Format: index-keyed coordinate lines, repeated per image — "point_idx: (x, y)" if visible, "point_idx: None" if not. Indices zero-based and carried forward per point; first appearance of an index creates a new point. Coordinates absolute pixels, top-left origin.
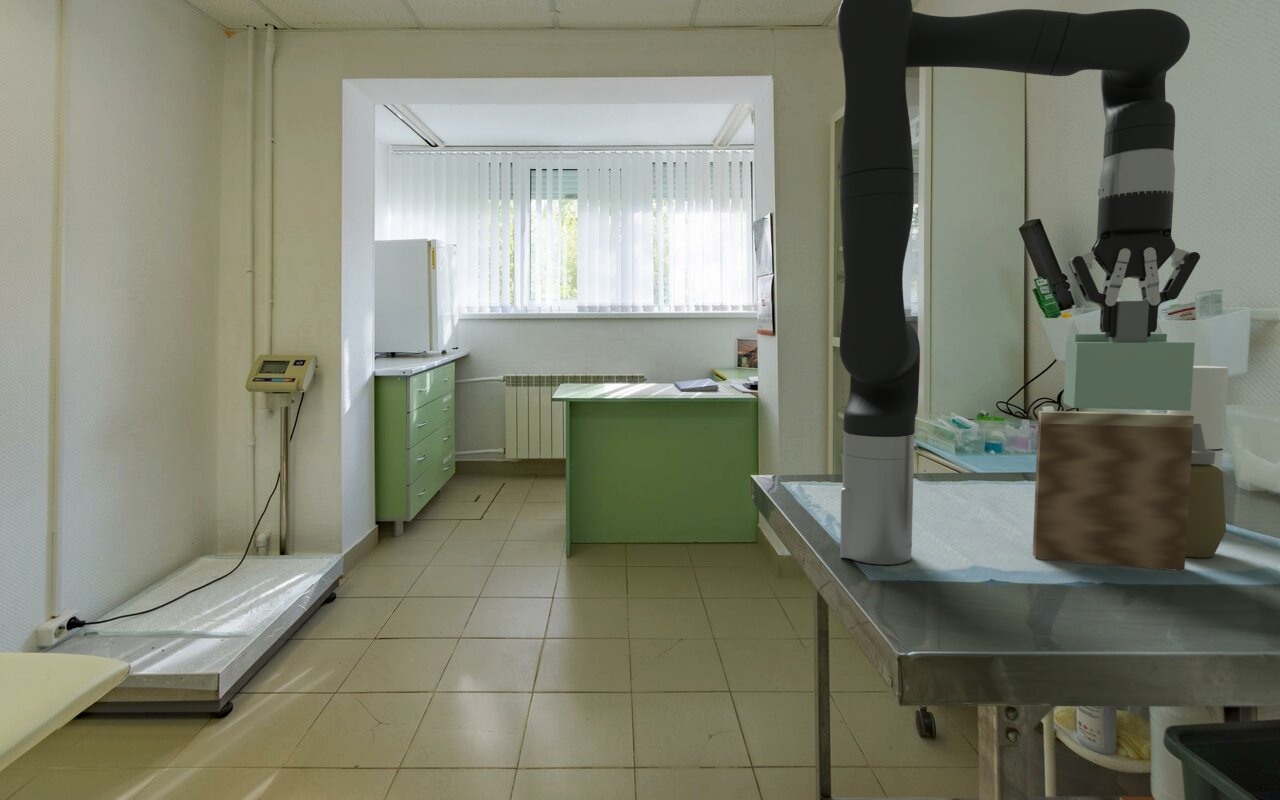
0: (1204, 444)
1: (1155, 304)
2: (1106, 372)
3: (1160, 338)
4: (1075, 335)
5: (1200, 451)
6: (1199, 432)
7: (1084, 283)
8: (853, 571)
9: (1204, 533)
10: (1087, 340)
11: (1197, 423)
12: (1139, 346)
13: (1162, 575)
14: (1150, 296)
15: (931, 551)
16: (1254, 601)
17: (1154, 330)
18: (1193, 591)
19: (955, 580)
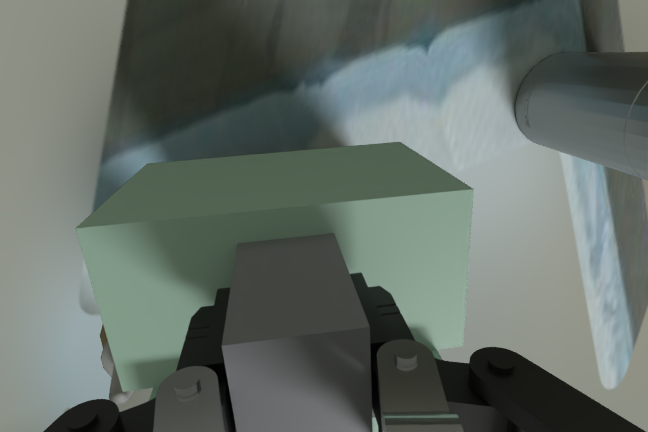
0: (114, 363)
1: (186, 367)
2: (351, 169)
3: None
4: None
5: None
6: (116, 376)
7: (610, 419)
8: (593, 15)
9: None
10: None
11: (114, 401)
12: (266, 203)
13: (219, 151)
14: (207, 398)
15: (485, 148)
16: (129, 79)
17: (201, 308)
18: (193, 94)
19: (471, 25)
